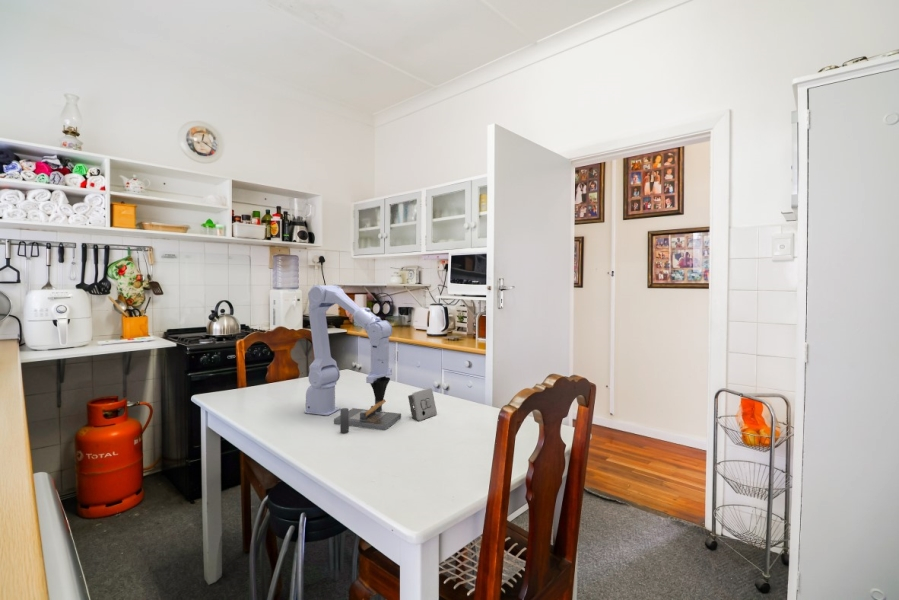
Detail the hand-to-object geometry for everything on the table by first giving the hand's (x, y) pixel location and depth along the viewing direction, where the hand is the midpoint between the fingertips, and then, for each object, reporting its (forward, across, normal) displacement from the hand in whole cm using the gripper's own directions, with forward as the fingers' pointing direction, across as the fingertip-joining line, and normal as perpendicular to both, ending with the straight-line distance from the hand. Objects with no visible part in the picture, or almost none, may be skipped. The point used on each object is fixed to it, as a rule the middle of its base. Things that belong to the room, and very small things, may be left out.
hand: (379, 400), depth 140 cm
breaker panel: (+7, 0, +4) cm, 8 cm away
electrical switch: (+8, +10, -11) cm, 17 cm away
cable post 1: (+7, -12, +6) cm, 15 cm away
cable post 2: (+7, +12, +6) cm, 15 cm away
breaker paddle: (+5, 0, +4) cm, 6 cm away
